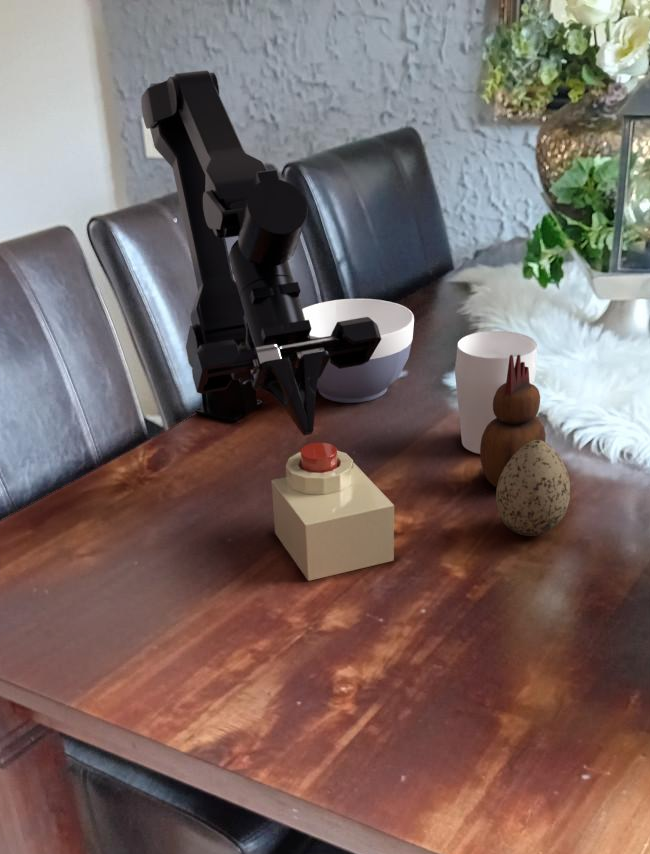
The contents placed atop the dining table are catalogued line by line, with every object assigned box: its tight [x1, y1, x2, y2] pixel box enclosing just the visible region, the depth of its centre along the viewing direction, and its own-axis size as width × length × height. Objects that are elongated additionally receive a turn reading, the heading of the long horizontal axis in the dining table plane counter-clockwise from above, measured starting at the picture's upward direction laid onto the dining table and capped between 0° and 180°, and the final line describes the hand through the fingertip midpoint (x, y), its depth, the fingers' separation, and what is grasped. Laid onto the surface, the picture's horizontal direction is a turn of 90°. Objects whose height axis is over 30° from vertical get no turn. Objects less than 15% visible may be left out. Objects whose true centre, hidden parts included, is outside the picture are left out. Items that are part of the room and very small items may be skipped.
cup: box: [454, 330, 538, 455], centre depth 115 cm, size 9×9×12 cm
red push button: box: [300, 442, 338, 473], centre depth 99 cm, size 4×4×2 cm
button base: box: [270, 450, 395, 582], centre depth 99 cm, size 11×9×8 cm
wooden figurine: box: [479, 355, 547, 488], centre depth 106 cm, size 7×6×15 cm
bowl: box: [302, 298, 415, 404], centre depth 131 cm, size 16×16×10 cm
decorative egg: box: [495, 440, 571, 537], centre depth 99 cm, size 7×7×10 cm
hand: (308, 433), depth 100 cm, fingers closed
